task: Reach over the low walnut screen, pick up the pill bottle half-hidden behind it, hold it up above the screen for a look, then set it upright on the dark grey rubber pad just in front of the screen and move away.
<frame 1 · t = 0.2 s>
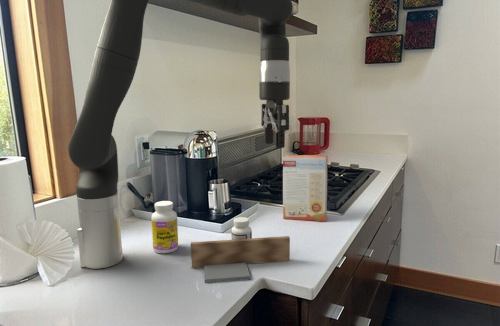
hand: (274, 145, 96), 28 cm above the worktop, tool pointing down, fingers open, 8 cm apart
cracker box: (304, 218, 126), on the worktop
pill bottle: (241, 252, 99), on the worktop
supplement bottle: (166, 249, 101), on the worktop
grey pad: (226, 273, 87), on the worktop
walnut screen: (241, 263, 92), on the worktop
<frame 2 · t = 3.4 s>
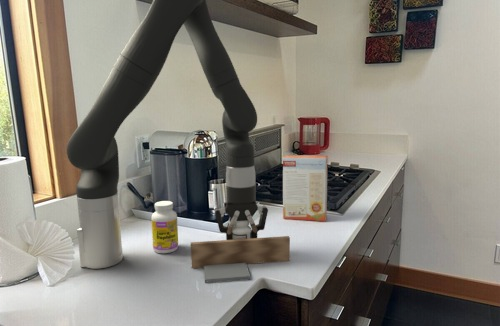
hand: (241, 245, 99), 2 cm above the worktop, tool pointing down, fingers closed on pill bottle, 5 cm apart
pill bottle: (241, 252, 99), on the worktop, touching gripper
everything else where it was.
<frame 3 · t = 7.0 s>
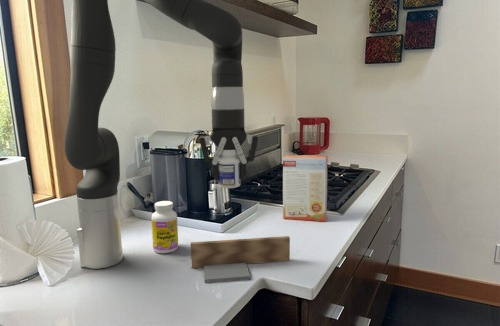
hand: (229, 179, 89), 21 cm above the worktop, tool pointing down, fingers closed on pill bottle, 5 cm apart
pill bottle: (229, 186, 90), point 19 cm above the worktop, touching gripper
everything else where it was.
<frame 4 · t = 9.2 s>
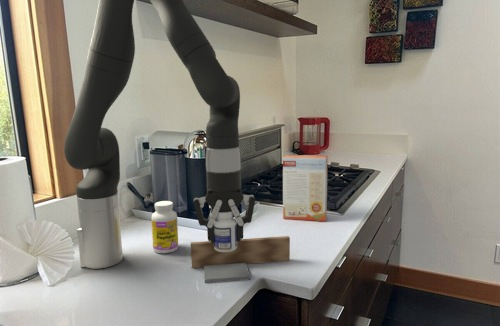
hand: (225, 240, 85), 8 cm above the worktop, tool pointing down, fingers closed on pill bottle, 5 cm apart
pill bottle: (225, 248, 85), point 6 cm above the worktop, touching gripper
everything else where it was.
when the fingers open (4 cm above the worktop, at t = 10.9 s): pill bottle drops 1 cm, resting on grey pad.
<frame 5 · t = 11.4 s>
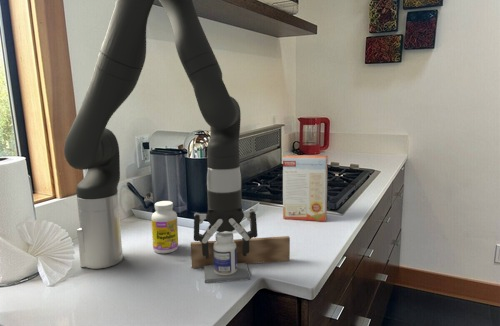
hand: (226, 255, 86), 4 cm above the worktop, tool pointing down, fingers open, 8 cm apart
pill bottle: (225, 271, 86), point 1 cm above the worktop, touching grey pad
everything else where it was.
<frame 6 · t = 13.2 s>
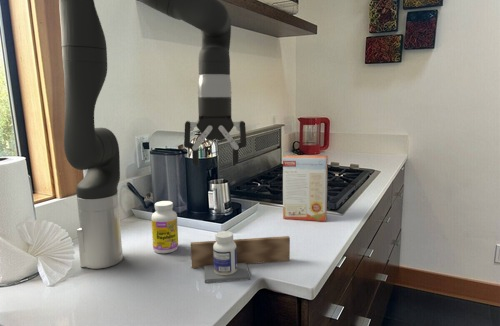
hand: (215, 165, 88), 24 cm above the worktop, tool pointing down, fingers open, 8 cm apart
nothing on the worktop moved.
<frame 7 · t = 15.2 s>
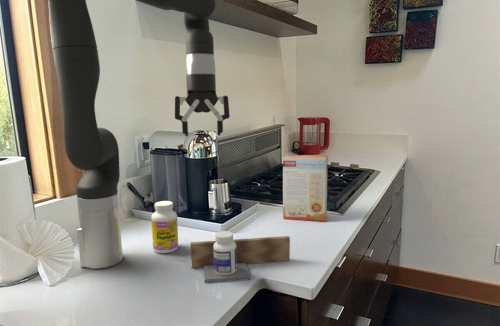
hand: (203, 135, 100), 30 cm above the worktop, tool pointing down, fingers open, 8 cm apart
nothing on the worktop moved.
at the end: pill bottle inside the target area (0.2 cm from its centre), point 0.6 cm above the worktop; pill bottle tilted 0°; the gripper is holding nothing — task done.
